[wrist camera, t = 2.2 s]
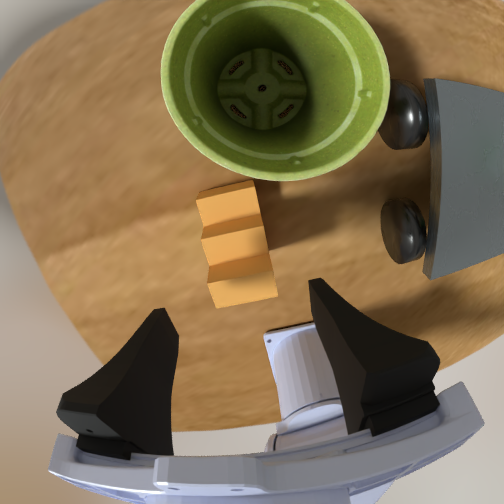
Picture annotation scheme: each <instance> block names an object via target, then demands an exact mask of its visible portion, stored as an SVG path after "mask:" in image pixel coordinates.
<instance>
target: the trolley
mask: <svg viewBox="0 0 504 504" xmlns="http://www.w3.org/2000/svg"><path fill="white" fill-rule="evenodd" d="M423 80H424V86H425V93H426V100H427V107H426V104H425V101H424V99H423V97H422V95H421V93H420V91H419V90H418V89H417V88H416V86H415V85H413V84H412V83H411V82H409V81H406V80H390V93H389V99H388V106H387V111H386V113H385V116H384V119H383V121H382V123H381V125H380V127H379V129H378V131H379V133H380V136H381V137H382V139H383V141H384V142H385V143H386V144H387V145H388V146H389V147H390V148H392V149H395V150H400V149H413V148H418V147H419V146H421V145H422V143H423V142H424V140H425V138H426V136H427V132H428V123H429V132H430V153H431V189H430V210H429V223H428V234H427V233H426V226H425V222H424V219H423V216H422V213H421V211H420V210H419V208H418V206H417V205H416V204H415V203H414V202H413V201H412V200H411V199H409V198H401V199H395V200H389V201H387V202H385V203H384V205H383V207H382V211H381V232H382V237H383V241H384V244H385V247H386V249H387V251H388V253H389V255H390V257H391V258H392V259H393V260H394V261H395V262H396V263H398V264H404V263H407V262H411V261H415V260H418V259H420V258H421V257H422V256H423V254H424V252H425V258H424V265H423V273H424V274H425V275H426V276H427V277H428V278H429V279H430V280H433V279H436V278H439V277H442V276H445V275H448V274H450V273H453V272H456V271H459V270H462V269H464V268H467V267H470V266H472V265H475V264H478V263H480V262H483V261H485V260H488V259H490V258H493V257H495V256H498V255H500V254H503V253H504V93H503V92H499V91H495V90H492V89H488V88H484V87H479V86H475V85H470V84H465V83H460V82H455V81H449V80H442V79H435V78H434V79H423ZM427 109H428V111H427ZM428 119H429V121H428ZM425 248H426V251H425Z"/></svg>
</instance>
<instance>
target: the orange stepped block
mask: <svg viewBox="0 0 504 504" xmlns="http://www.w3.org/2000/svg"><path fill="white" fill-rule="evenodd" d="M196 202H197V206H198V209H199V212H200V216H201V219H202V222H203V226H204V228H203V233H202V237H201V242H202V245H203V248H204V251H205V254H206V257H207V260H208V263H209V274H208V281H207V285H208V287H209V290H210V293H211V295H212V298H213V301H214V303H215V306H216V308H221V307H227V306H232V305H237V304H242V303H248V302H253V301H258V300H263V299H268V298H272V297H277V296H278V293H277V288H276V283H275V278H274V273H273V268H272V264H271V259H270V255H269V250H268V245H267V240H266V236H265V231H264V226H263V222H262V218H261V213H260V209H259V204H258V199H257V195H256V190H255V186H254V182H253V180H249V181H245V182H240V183H236V184H231V185H227V186H223V187H218V188H214V189H210V190H206V191H202V192H199V194H198V196H197V199H196Z"/></svg>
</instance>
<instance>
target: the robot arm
mask: <svg viewBox="0 0 504 504" xmlns="http://www.w3.org/2000/svg"><path fill="white" fill-rule="evenodd" d="M308 282H309V292H310V302H311V312H312V316H313V320H314V322H313V323H309V324H304V325H300V326H295V327H290V328H286V329H281V330H276V331H271V332H266V333H265V334H264V341H265V345H266V349H267V352H268V356H269V360H270V364H271V367H272V371H273V375H274V378H275V382H276V384H277V390H278V397H279V404H280V411H281V418H282V421H281V422H279V423H276V429H277V433H276V434H273V435H271V436H270V438H269V440H268V442H267V444H266V446H265V451H264V452H261V453H252V454H242V455H222V456H174V453H173V445H172V432H171V395H172V387H173V381H174V375H175V369H176V363H177V358H178V348H179V335H178V333H177V331H176V329H175V327H174V325H173V323H172V322H171V320H170V318H169V316H168V314H167V312H166V310H165V308H159V309H154V310H153V311H152V312H151V313H150V315H149V316H148V317H147V318H146V319H145V321H144V322H143V323H142V325H141V326H140V327H139V328H138V330H137V331H136V332H135V333H134V335H133V336H132V337H131V338H130V339H129V340H128V342H127V343H126V344H125V345H124V346H123V347H122V349H121V350H120V351H119V352H118V353H117V354H116V355H115V356H114V357H113V358H112V359H111V360H110V361H109V362H108V363H107V364H106V365H104V366H103V367H102V368H101V369H100V370H98V371H97V372H96V373H95V374H93V375H92V376H91V377H90V378H88V379H87V380H85V381H84V382H82V383H81V384H79V385H77V386H76V387H74V388H72V389H70V390H68V391H67V392H65V393H63V395H62V398H61V401H60V403H59V406H58V409H57V411H56V413H57V415H58V417H59V418H60V420H62V421H63V422H64V423H65V424H66V425H67V426H69V427H70V428H71V429H72V430H74V431H75V432H76V433H78V434H79V436H78V439H76V438H74V437H71V436H68V435H64V434H60V433H59V434H58V436H57V439H56V442H55V445H54V449H53V453H52V456H51V460H50V464H49V468H48V471H49V472H51V473H53V474H54V475H56V476H58V477H60V478H61V479H63V480H66V481H67V482H69V483H71V484H73V485H75V486H77V487H80V488H82V489H86V490H88V491H91V492H95V493H98V494H101V495H104V496H107V497H111V498H115V499H118V500H122V501H126V502H130V503H135V504H375V503H376V502H377V501H378V500H379V499H380V497H381V496H382V495H383V494H384V493H385V492H386V491H387V489H388V488H389V487H390V486H391V485H392V483H393V482H394V481H395V480H397V479H399V478H401V477H403V476H406V475H408V474H410V473H412V472H414V471H416V470H418V469H420V468H422V467H424V466H426V465H428V464H430V463H432V462H434V461H435V460H437V459H439V458H441V457H443V456H445V455H446V454H448V453H450V452H452V451H453V450H455V449H457V448H458V447H460V446H461V445H463V444H464V443H465V442H466V441H467V440H468V439H470V438H471V437H472V436H473V435H474V434H475V433H476V432H477V431H478V430H479V429H480V428H481V427H482V426H484V421H483V419H482V417H481V415H480V413H479V411H478V409H477V407H476V405H475V403H474V401H473V399H472V398H471V396H470V394H469V392H468V390H467V389H466V387H465V385H464V383H463V382H459V383H457V384H455V385H453V386H451V387H450V388H448V389H446V390H444V391H442V392H441V393H439V394H438V395H437V396H436V395H435V393H434V390H435V386H434V384H433V382H432V380H433V378H434V376H435V374H436V372H437V370H438V368H439V365H440V358H439V357H438V355H437V354H436V352H435V350H434V349H433V348H432V346H431V345H430V344H429V343H428V342H427V341H424V340H420V339H417V338H413V337H410V336H407V335H404V334H401V333H399V332H396V331H394V330H392V329H390V328H387V327H385V326H383V325H381V324H379V323H377V322H376V321H374V320H372V319H371V318H369V317H367V316H366V315H364V314H363V313H361V312H360V311H359V310H357V309H356V308H355V307H353V306H352V305H351V304H349V303H348V302H347V301H346V300H345V299H343V298H342V297H341V296H340V295H339V294H338V293H337V292H335V291H334V290H333V289H332V288H331V287H330V286H329V285H328V284H327V283H326V282H325V281H324V280H323V279H322V278H317V279H312V280H308ZM269 339H271V340H269Z"/></svg>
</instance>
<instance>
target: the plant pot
mask: <svg viewBox="0 0 504 504" xmlns="http://www.w3.org/2000/svg"><path fill="white" fill-rule="evenodd" d="M239 61H243V62H244V64H242V65H241V66H240V67H238V68H237V69H236V70H235V71H234V72H233V74H232V75H230V74H229V71H230V69H231V68H232V67H233V66H234V65H235V64H236V63H237V62H239ZM277 61H283V62H284V63H286V64H287V65H288V66H289V67H290V68H291V70H292V72H293V73H292V75H289V74H288V72H287V71H286V70H285V69H284V68H283V67H282V66H280V65H279V64H278V63H277ZM161 84H162V91H163V96H164V100H165V103H166V106H167V109H168V111H169V113H170V115H171V117H172V119H173V121H174V122H175V124H176V126H177V127H178V128H179V130H180V131H181V132H182V134H183V135H184V136H185V137H186V138H187V140H188V141H189V142H190V143H191V144H192V145H193V146H194V147H195V148H196V149H197V150H199V151H200V152H201V153H202V154H204V155H205V156H207V157H208V158H209V159H211V160H212V161H214V162H215V163H217V164H219V165H221V166H223V167H225V168H227V169H229V170H232V171H234V172H237V173H240V174H243V175H246V176H250V177H253V178H257V179H264V180H271V181H294V180H302V179H307V178H311V177H315V176H319V175H322V174H325V173H327V172H330V171H332V170H335V169H337V168H339V167H341V166H342V165H344V164H345V163H347V162H348V161H350V160H351V159H353V158H354V157H355V156H356V155H357V154H358V153H359V152H360V151H361V150H363V149H364V148H365V147H366V146H367V144H368V143H369V142H370V141H371V139H372V138H373V137H374V135H375V133H376V132H377V130H378V129H379V127H380V125H381V123H382V121H383V119H384V116H385V113H386V111H387V106H388V99H389V93H390V74H389V67H388V63H387V58H386V55H385V53H384V50H383V47H382V45H381V43H380V41H379V39H378V37H377V35H376V34H375V32H374V30H373V29H372V27H371V26H370V25H369V23H368V22H367V21H366V20H365V19H364V18H363V17H362V15H361V14H360V13H359V12H358V11H357V10H356V9H355V8H353V7H352V6H351V5H350V4H349V3H348V2H346V1H345V0H196V1H195V2H194V3H193V4H191V5H190V6H189V7H188V8H187V9H186V10H185V11H184V12H183V14H182V15H181V16H180V17H179V19H178V20H177V22H176V23H175V25H174V27H173V28H172V30H171V32H170V34H169V36H168V39H167V41H166V44H165V47H164V51H163V55H162V61H161ZM260 85H264V86H265V87H266V90H264V91H263V92H260V91H259V90H258V87H259V86H260ZM232 104H233V105H235V107H236V108H237V109H238V110H239V111H240V112H241V113H243V114H244V115H245V116H246V118H242V117H240V116H238V115H236V114H235V113H234V112H233V111H232V110H231V107H230V106H231V105H232ZM290 104H293V109H291V110H290V111H289V113H288V114H287V116H285V117H283V118H279V114H281V113H282V112H283V111H284V110H285V109H286V108H287V107H289V105H290Z"/></svg>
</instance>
